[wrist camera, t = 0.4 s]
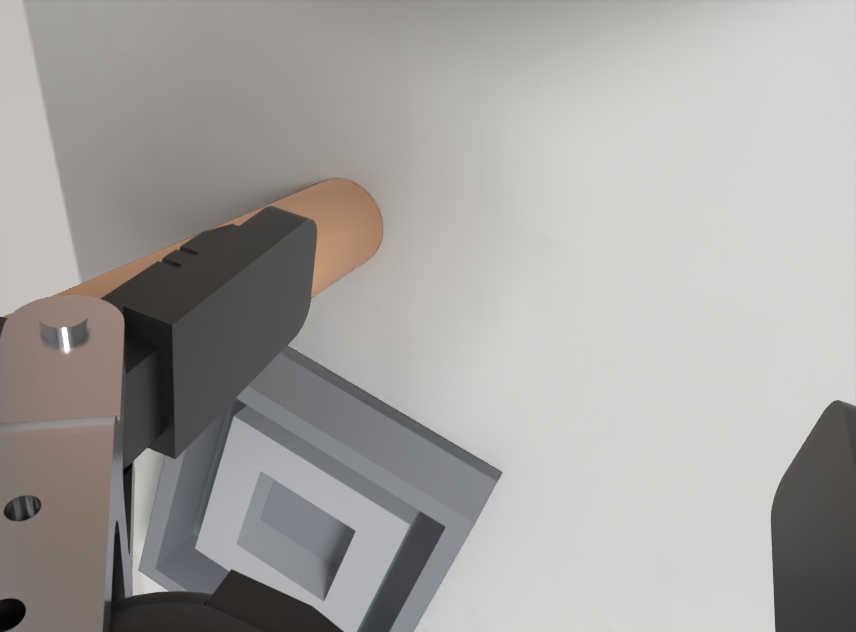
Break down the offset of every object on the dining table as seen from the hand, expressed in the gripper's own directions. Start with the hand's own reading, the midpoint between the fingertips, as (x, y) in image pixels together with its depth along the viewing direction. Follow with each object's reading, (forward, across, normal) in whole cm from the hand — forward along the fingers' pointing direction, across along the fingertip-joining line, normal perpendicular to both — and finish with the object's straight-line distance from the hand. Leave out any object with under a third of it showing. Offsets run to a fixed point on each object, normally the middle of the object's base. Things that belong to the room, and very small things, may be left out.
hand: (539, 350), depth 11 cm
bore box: (+16, +9, +25) cm, 31 cm away
